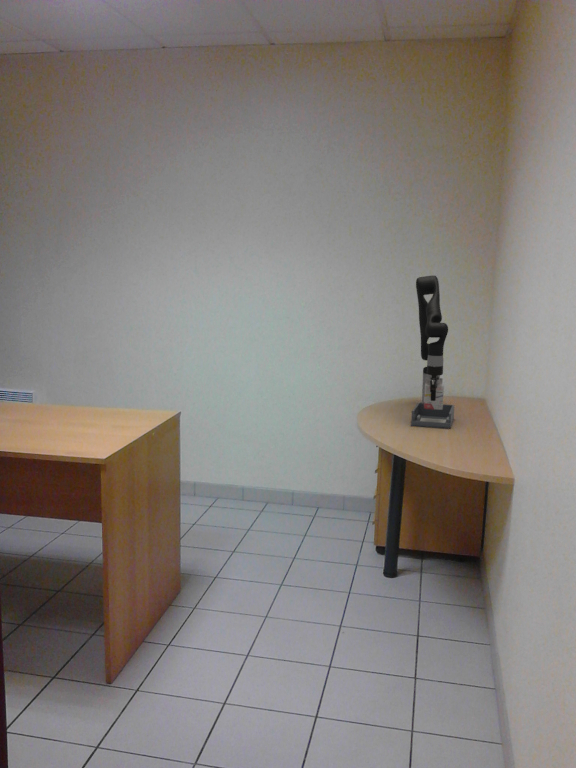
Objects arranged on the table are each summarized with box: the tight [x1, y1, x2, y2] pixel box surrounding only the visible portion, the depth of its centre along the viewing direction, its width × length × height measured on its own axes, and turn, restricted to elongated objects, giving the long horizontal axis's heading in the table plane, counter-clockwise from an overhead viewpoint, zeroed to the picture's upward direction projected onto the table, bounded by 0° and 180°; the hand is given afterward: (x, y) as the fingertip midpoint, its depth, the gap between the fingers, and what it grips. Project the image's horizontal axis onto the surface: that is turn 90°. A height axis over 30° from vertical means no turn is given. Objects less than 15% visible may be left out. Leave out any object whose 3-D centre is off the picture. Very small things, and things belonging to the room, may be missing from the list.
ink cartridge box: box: [424, 377, 445, 410], centre depth 312 cm, size 9×5×15 cm, turn 84°
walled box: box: [410, 402, 455, 430], centre depth 313 cm, size 22×18×7 cm
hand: (433, 399), depth 312 cm, fingers closed on ink cartridge box, 5 cm apart
